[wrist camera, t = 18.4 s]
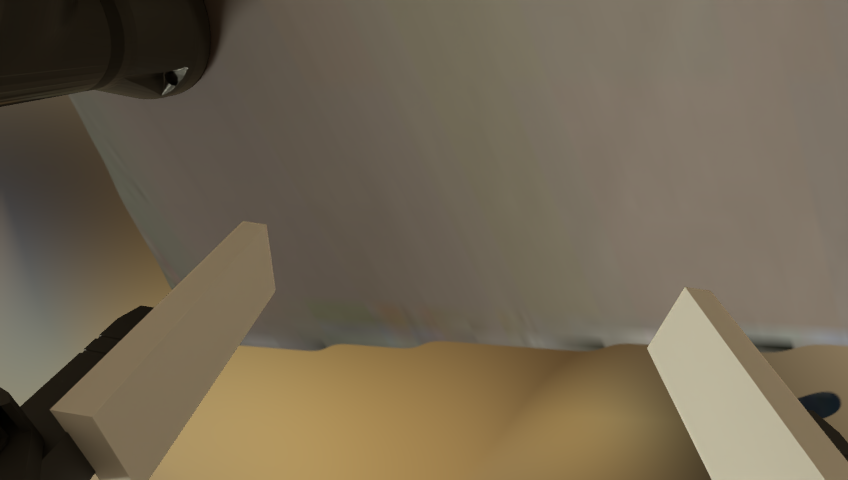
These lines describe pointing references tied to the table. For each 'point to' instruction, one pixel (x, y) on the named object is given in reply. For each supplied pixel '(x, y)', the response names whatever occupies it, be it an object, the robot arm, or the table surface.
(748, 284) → the table surface
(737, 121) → the table surface
